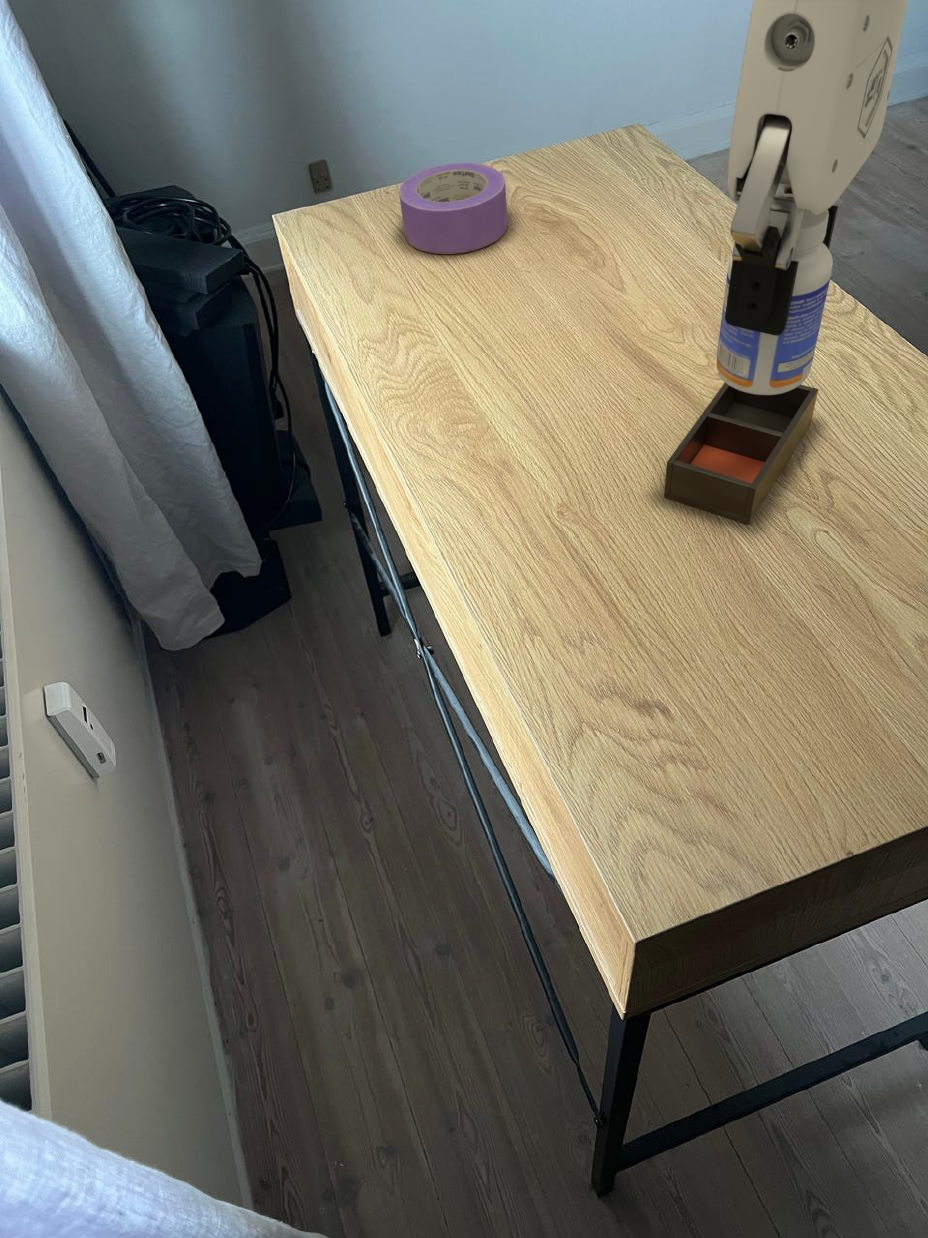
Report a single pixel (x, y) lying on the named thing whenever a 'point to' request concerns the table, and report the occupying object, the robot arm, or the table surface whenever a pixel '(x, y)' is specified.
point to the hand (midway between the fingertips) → (775, 295)
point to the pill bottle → (787, 356)
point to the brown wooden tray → (738, 450)
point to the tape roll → (454, 208)
